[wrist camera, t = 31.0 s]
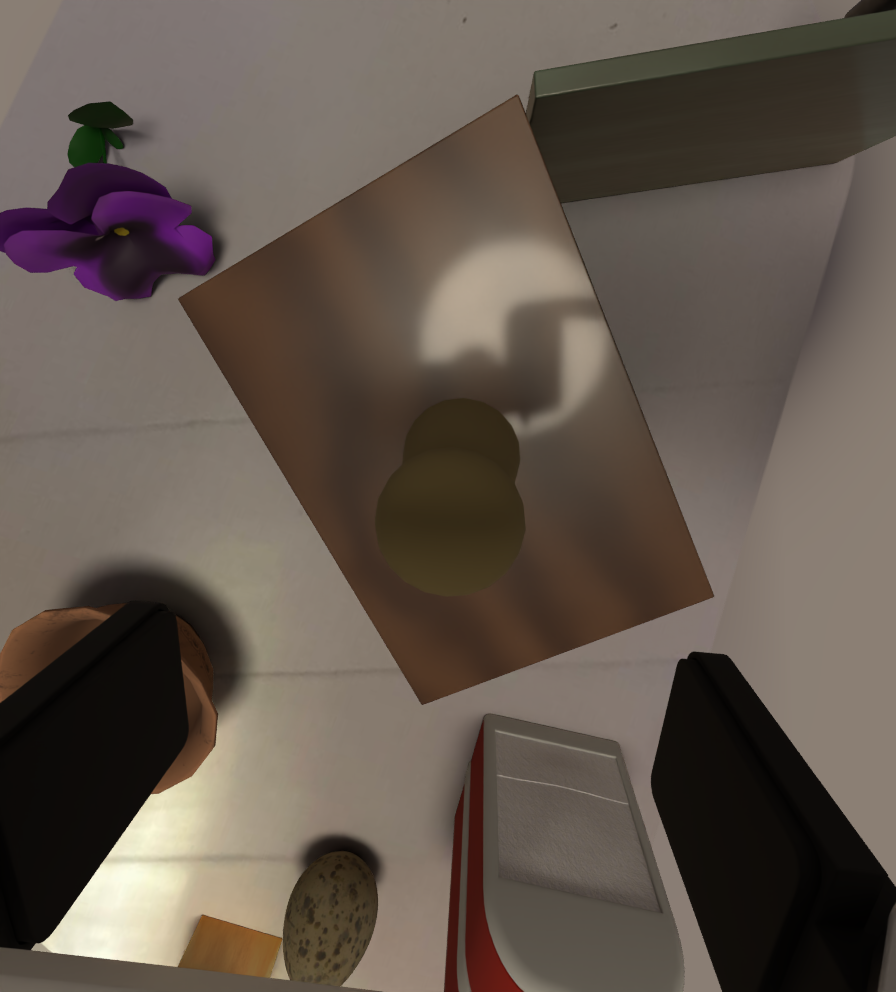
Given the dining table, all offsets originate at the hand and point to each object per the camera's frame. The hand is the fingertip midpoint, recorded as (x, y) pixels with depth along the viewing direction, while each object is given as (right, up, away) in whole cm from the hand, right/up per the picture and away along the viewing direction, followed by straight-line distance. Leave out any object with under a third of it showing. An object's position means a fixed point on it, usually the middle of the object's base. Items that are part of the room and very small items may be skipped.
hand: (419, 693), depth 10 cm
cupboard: (+3, +13, +40) cm, 42 cm away
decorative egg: (-13, -44, +60) cm, 76 cm away
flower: (-26, +29, +37) cm, 54 cm away
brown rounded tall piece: (+1, +6, +17) cm, 18 cm away
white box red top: (+11, -31, +54) cm, 64 cm away
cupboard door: (+18, +33, +32) cm, 49 cm away
